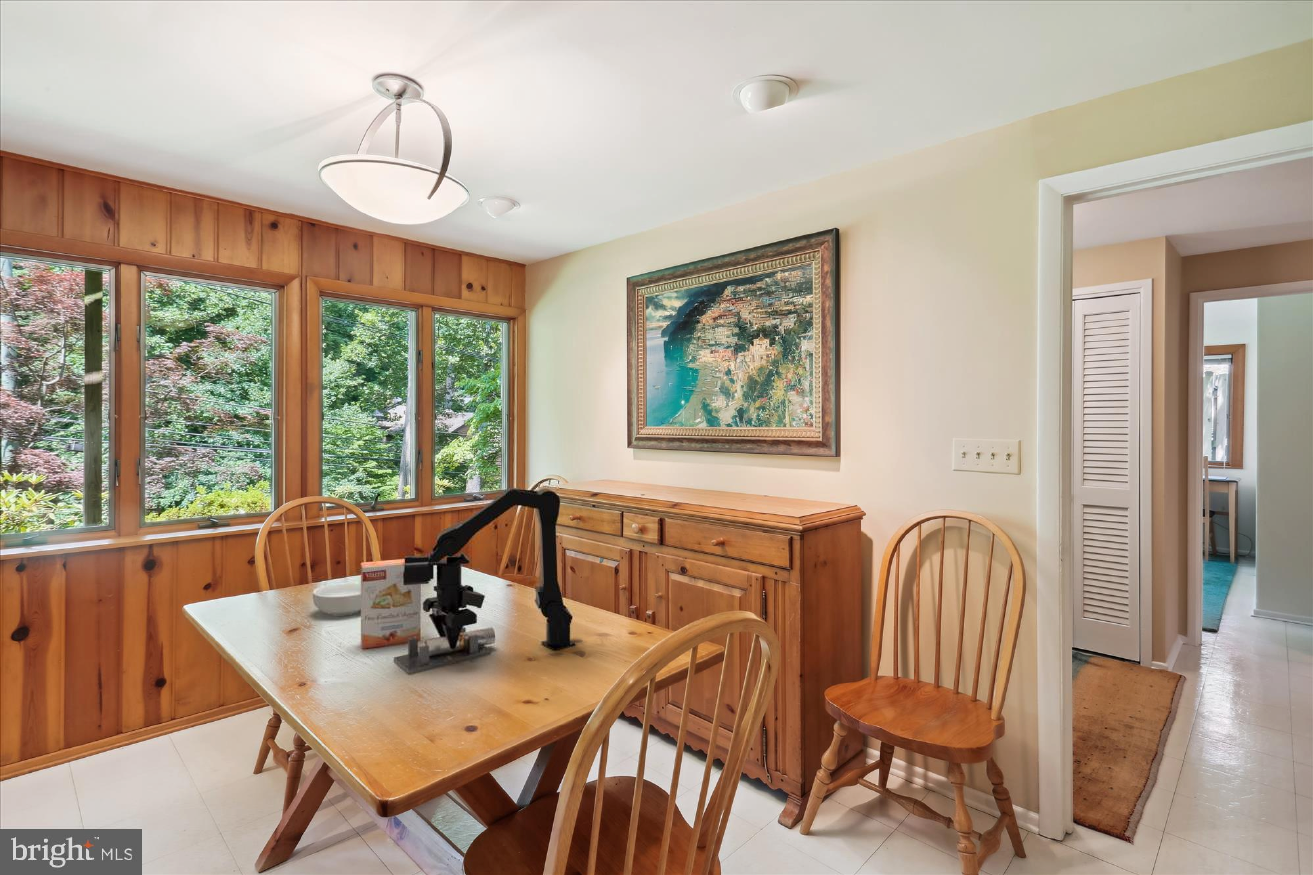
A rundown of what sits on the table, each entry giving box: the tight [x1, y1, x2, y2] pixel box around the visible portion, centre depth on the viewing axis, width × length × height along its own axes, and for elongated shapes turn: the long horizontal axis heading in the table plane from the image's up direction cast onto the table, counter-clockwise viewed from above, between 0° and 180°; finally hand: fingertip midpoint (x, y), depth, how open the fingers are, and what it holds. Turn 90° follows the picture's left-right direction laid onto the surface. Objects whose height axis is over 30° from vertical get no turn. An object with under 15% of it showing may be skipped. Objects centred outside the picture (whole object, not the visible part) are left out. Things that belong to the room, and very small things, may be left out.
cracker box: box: [360, 558, 422, 650], centre depth 165 cm, size 14×6×21 cm, turn 118°
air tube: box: [424, 626, 496, 656], centre depth 157 cm, size 16×4×4 cm, turn 123°
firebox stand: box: [393, 626, 492, 675], centre depth 155 cm, size 10×20×5 cm, turn 130°
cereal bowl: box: [312, 581, 361, 617], centre depth 190 cm, size 17×17×7 cm
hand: (449, 646), depth 156 cm, fingers closed on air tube, 4 cm apart
